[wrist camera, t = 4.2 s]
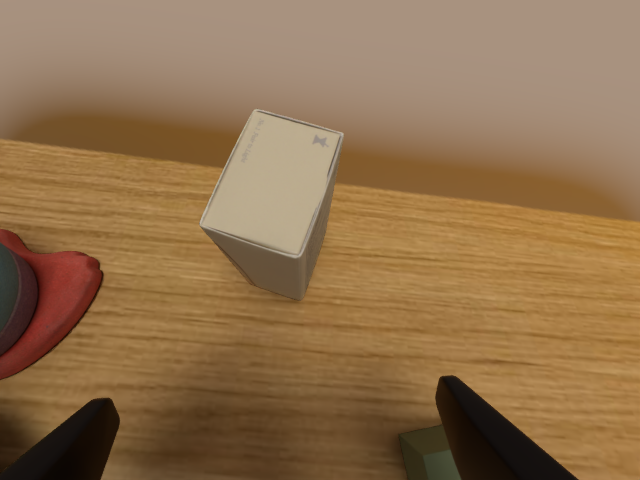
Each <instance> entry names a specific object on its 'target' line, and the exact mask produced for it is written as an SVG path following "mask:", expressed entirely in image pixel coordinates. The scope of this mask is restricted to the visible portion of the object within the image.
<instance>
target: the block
mask: <svg viewBox="0 0 640 480" xmlns="http://www.w3.org/2000/svg"><path fill="white" fill-rule="evenodd" d="M399 440H400V444H401V449H402V454H403V458H404V463H405V467H406V472H407V476H408V480H461V477H460V475H459V473H458V470H457V467H456V465H455V462H454V459H453V456H452V453H451V450H450V447H449V443H448V440H447V437H446V434H445V431H444V427H443V425H440V426H436V427H431V428H426V429H421V430H417V431H412V432H407V433H402V434H399Z"/></svg>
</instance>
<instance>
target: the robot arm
mask: <svg viewBox="0 0 640 480" xmlns="http://www.w3.org/2000/svg"><path fill="white" fill-rule="evenodd" d="M435 399H436V405H437V408H438V411H439V415H440V418H441V421H442V424H443V427H444V431H445V434H446V437H447V440H448V443H449V447H450V450H451V453H452V456H453V459H454V462H455V465H456V467H457V470H458V473H459V475H460V477H461V480H578V479H577V478H576V477H575V476H574V475H572V474H571V473H570V472H569V471H568V470H567V469H565V468H564V467H563V466H562V465H561V464H559V463H558V462H557V461H556V460H555V459H553V458H552V457H551V456H550V455H549V454H548V453H546V452H545V451H544V450H543V449H542V448H540V447H539V446H538V445H537V444H536V443H535V442H533V441H532V440H531V439H530V438H529V437H527V436H526V435H525V434H524V433H523V432H522V431H520V430H519V429H518V428H517V427H516V426H514V425H513V424H512V423H511V422H510V421H508V420H507V419H506V418H505V417H504V416H503V415H501V414H500V413H499V412H498V411H497V410H495V409H494V408H493V407H492V406H491V405H490V404H488V403H487V402H486V401H485V400H484V399H482V398H481V397H480V396H479V395H478V394H476V393H475V392H474V391H473V390H472V389H471V388H469V387H468V386H467V385H466V384H465V383H463V382H462V381H461V380H460V379H459V378H457V377H456V376H453V375H450V376H441V377H440V378H439V382H438V386H437V391H436V397H435ZM119 424H120V418H119V415H118V413H117V410H116V408H115V406H114V403H113V401H112V399H110V398H97V399H93V400H91V401H90V402H88V403H87V404H86V405H85V406H83V407H82V408H81V409H80V410H78V411H77V412H76V413H75V414H73V415H72V416H71V417H70V418H68V419H67V420H66V421H65V422H63V423H62V424H61V425H60V426H58V427H57V428H56V429H55V430H53V431H52V432H51V433H50V434H48V435H47V436H46V437H45V438H43V439H42V440H41V441H40V442H38V443H37V444H36V445H35V446H33V447H32V448H31V449H30V450H28V451H27V452H26V453H25V454H23V455H22V456H21V457H20V458H19V459H17V460H16V461H15V462H14V463H12V464H11V465H10V466H9V467H7V468H6V469H5V470H4V471H2V472H1V473H0V480H101V477H102V474H103V471H104V468H105V465H106V463H107V460H108V457H109V454H110V451H111V448H112V445H113V442H114V440H115V437H116V434H117V431H118V428H119Z"/></svg>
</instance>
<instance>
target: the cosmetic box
mask: <svg viewBox="0 0 640 480" xmlns="http://www.w3.org/2000/svg"><path fill="white" fill-rule="evenodd" d="M343 138H344V134H343V133H341V132H337V131H333V130H331V129H327V128H324V127H320V126H317V125H313V124H311V123H307V122H304V121H300V120H297V119H293V118H290V117H287V116H283V115H278V114H275V113H271V112H268V111H263V110H260V109H255V110H254V111H253V112H252V114H251V116H250V118H249V120H248V122H247V123H246V125H245V127H244V129H243V131H242V133H241V135H240V137H239V139H238V141H237V143H236V145H235V147H234V149H233V151H232V153H231V155H230V157H229V159H228V161H227V164H226V166H225V168H224V169H223V171H222V174H221V176H220V178H219V180H218V182H217V185H216V187H215V189H214V191H213V193H212V196H211V198H210V200H209V202H208V204H207V206H206V208H205V211H204V213H203V215H202V218H201V220H200V223H199V225H200V227H201V228H202V229H203V230H204V231H205V233H206V234H207V235H208V236H209V237H210V238H211V239H212V240H213V241H214V243H215V244H216V245H217V246H218V247H219V249H220V250H221V251H222V252H223V253H224V254H225V255H226V257H227V258H228V259H229V260H230V261H231V262H232V263H233V265H234V266H235V267H236V268H237V269H238V270H239V271H240V273H241V274H242V275H243V276H244V277H245V278H246V280H247V281H248V282H249V283H250V284H251V285H254V286H257V287H260V288H263V289H265V290H268V291H271V292H274V293H277V294H280V295H283V296H286V297H289V298H292V299H296V300H302V299H303V297H304V294H305V292H306V289H307V286H308V284H309V281H310V278H311V275H312V272H313V269H314V266H315V263H316V261H317V258H318V255H319V252H320V248H321V245H322V242H323V239H324V236H325V232H326V227H327V222H328V217H329V212H330V207H331V201H332V196H333V191H334V185H335V180H336V174H337V170H338V165H339V159H340V154H341V148H342V143H343Z"/></svg>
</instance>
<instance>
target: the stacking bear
mask: <svg viewBox="0 0 640 480" xmlns="http://www.w3.org/2000/svg"><path fill="white" fill-rule="evenodd" d="M101 276H102V273H101V271H100V270H99V269H98V262H97V260H96V259H95V258H93V257H89V256H87V255H85V254H84V253H82V252H77V251H63V252H57V253H50V254H37V253H33V252H31V251H29V250H28V249H27V248H26V247H25V246H24V245H23V243H22V242H21V240H20V239H19V237H18V236H17V235H16V234H14V233H13V232H10V231H8V230H4V229H0V379H3V378H5V377H8V376H11V375H13V374H15V373H17V372H19V371H21V370H22V369H24V368H25V367H27V366H28V365H30V364H32V363H33V362H35V361H36V360H37V359H39V358H40V357H41V356H43V355H44V354H45V353H46V352H48V351H49V350H50V349H51V348H52V347H54V346H55V345H56V344H57V343H58V342H59V341H60V340H61V339H62V338H63V337H64V336H65V335H66V334H67V333H68V332H69V331H70V330H71V329H72V327H73V326H74V325H75V324H76V322H77V321H78V320H79V319H80V317H81V316H82V315H83V313H84V312H85V310H86V309H87V307H88V306H89V304H90V302H91V301H92V299H93V297H94V295H95V293H96V291H97V289H98V287H99V284H100V281H101Z"/></svg>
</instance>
